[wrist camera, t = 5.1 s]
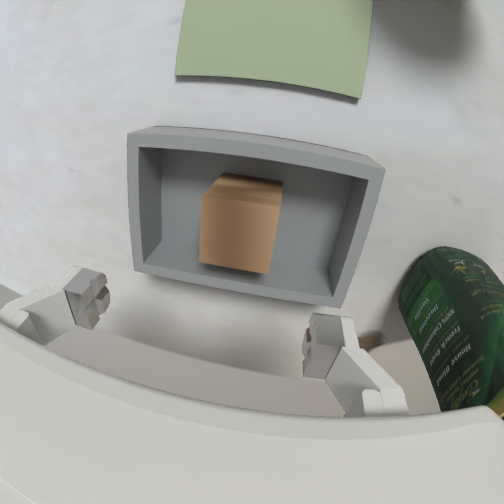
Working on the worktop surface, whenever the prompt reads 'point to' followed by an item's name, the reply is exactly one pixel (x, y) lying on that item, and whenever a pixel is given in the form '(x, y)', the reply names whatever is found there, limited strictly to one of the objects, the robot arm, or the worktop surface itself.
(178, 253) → the grey bin
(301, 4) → the olive mat
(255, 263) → the walnut block
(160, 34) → the worktop surface
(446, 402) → the coffee jar
